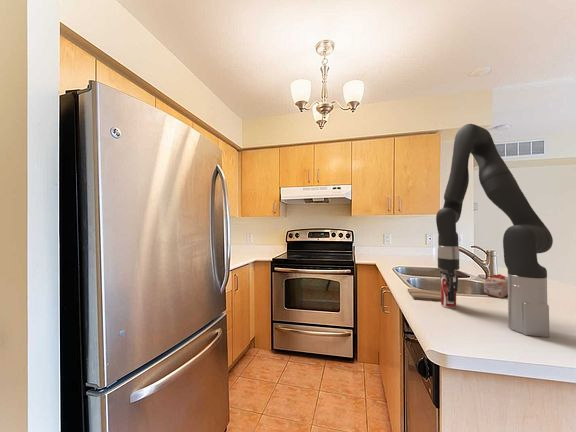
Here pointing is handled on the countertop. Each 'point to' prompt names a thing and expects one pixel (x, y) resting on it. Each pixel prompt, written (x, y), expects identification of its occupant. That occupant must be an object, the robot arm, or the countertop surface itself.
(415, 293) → the walnut board
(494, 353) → the countertop surface
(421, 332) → the countertop surface
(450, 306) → the soda can
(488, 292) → the food item
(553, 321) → the countertop surface
